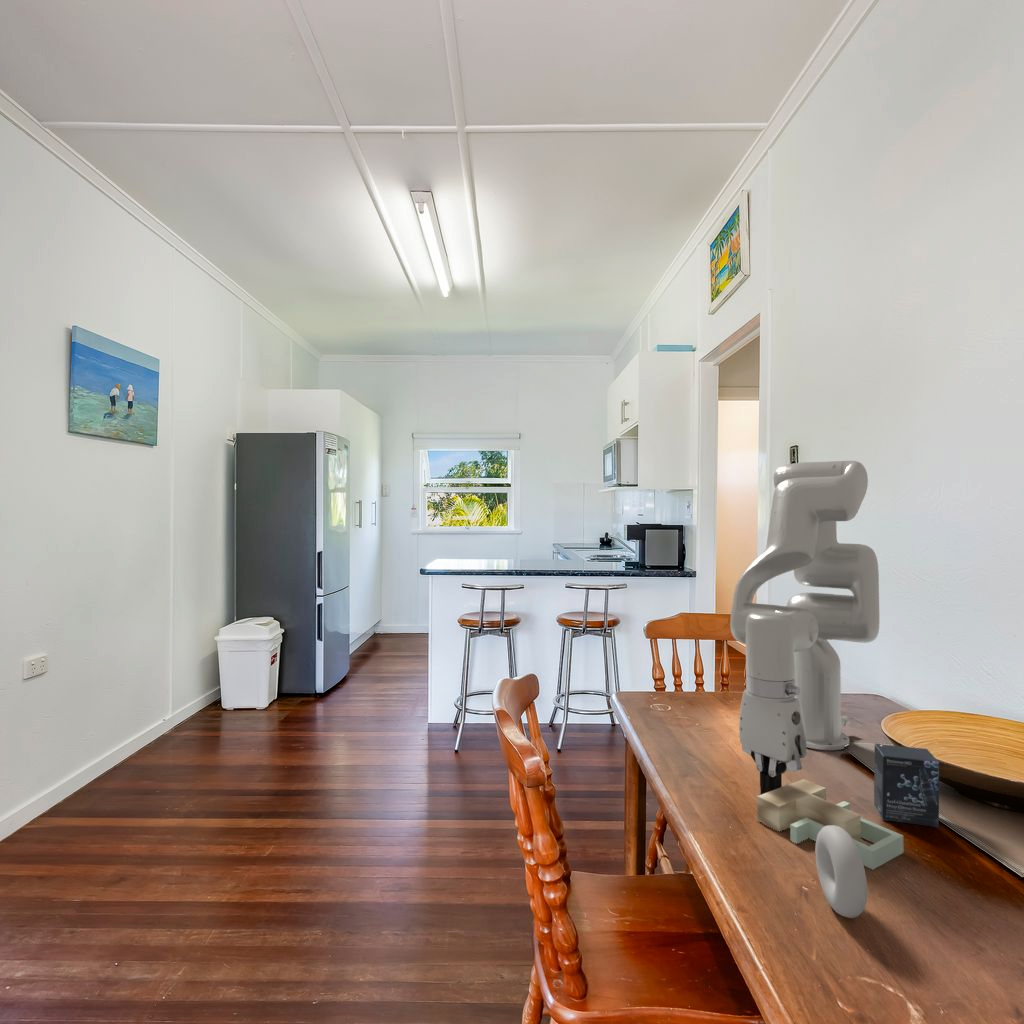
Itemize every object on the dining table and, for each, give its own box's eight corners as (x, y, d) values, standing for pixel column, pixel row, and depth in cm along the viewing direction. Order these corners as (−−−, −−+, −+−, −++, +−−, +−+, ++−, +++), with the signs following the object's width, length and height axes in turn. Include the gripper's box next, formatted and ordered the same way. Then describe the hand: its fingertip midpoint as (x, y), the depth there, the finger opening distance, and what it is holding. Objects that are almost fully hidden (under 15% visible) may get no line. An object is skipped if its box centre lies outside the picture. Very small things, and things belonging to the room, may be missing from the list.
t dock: (844, 816, 99) (843, 801, 99) (914, 846, 90) (913, 829, 90) (790, 841, 92) (790, 824, 92) (860, 876, 83) (860, 858, 83)
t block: (757, 821, 98) (757, 796, 98) (803, 802, 104) (803, 778, 104) (828, 857, 87) (828, 829, 87) (875, 834, 93) (875, 808, 93)
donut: (811, 884, 81) (810, 809, 81) (838, 886, 81) (838, 810, 81) (841, 936, 71) (841, 851, 71) (873, 939, 71) (872, 853, 71)
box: (883, 821, 97) (882, 755, 97) (873, 805, 103) (873, 742, 103) (940, 829, 95) (940, 761, 95) (927, 811, 100) (927, 747, 100)
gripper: (825, 694, 98) (826, 809, 98) (747, 673, 111) (748, 774, 111) (796, 702, 94) (797, 821, 94) (718, 679, 107) (719, 784, 107)
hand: (770, 795), depth 102 cm, fingers closed
